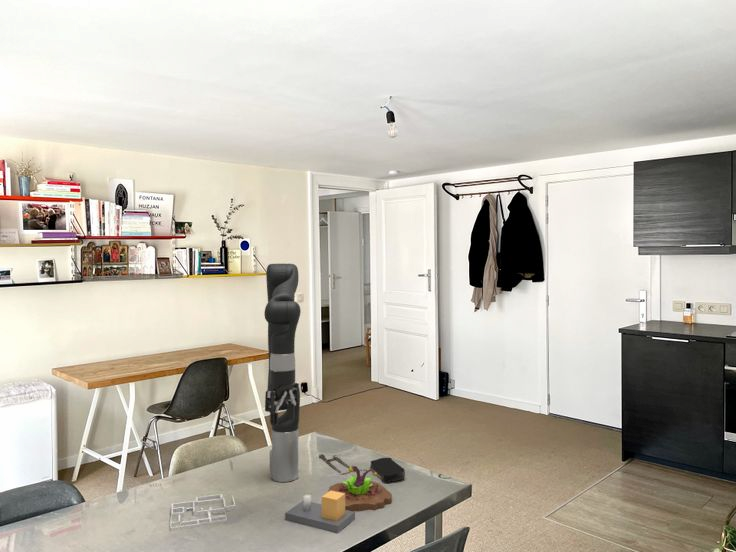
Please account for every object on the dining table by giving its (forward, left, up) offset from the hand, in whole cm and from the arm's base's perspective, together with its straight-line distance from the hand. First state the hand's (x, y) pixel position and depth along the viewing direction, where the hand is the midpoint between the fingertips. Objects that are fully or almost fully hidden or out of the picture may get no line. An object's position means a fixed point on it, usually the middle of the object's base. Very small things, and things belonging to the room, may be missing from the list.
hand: (282, 421), depth 170 cm
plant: (+15, +20, -29) cm, 38 cm away
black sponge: (+15, +43, -29) cm, 54 cm away
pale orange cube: (+17, +2, -26) cm, 31 cm away
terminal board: (+12, +2, -28) cm, 31 cm away
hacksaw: (-4, +44, -29) cm, 53 cm away
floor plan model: (-24, -8, -29) cm, 38 cm away
